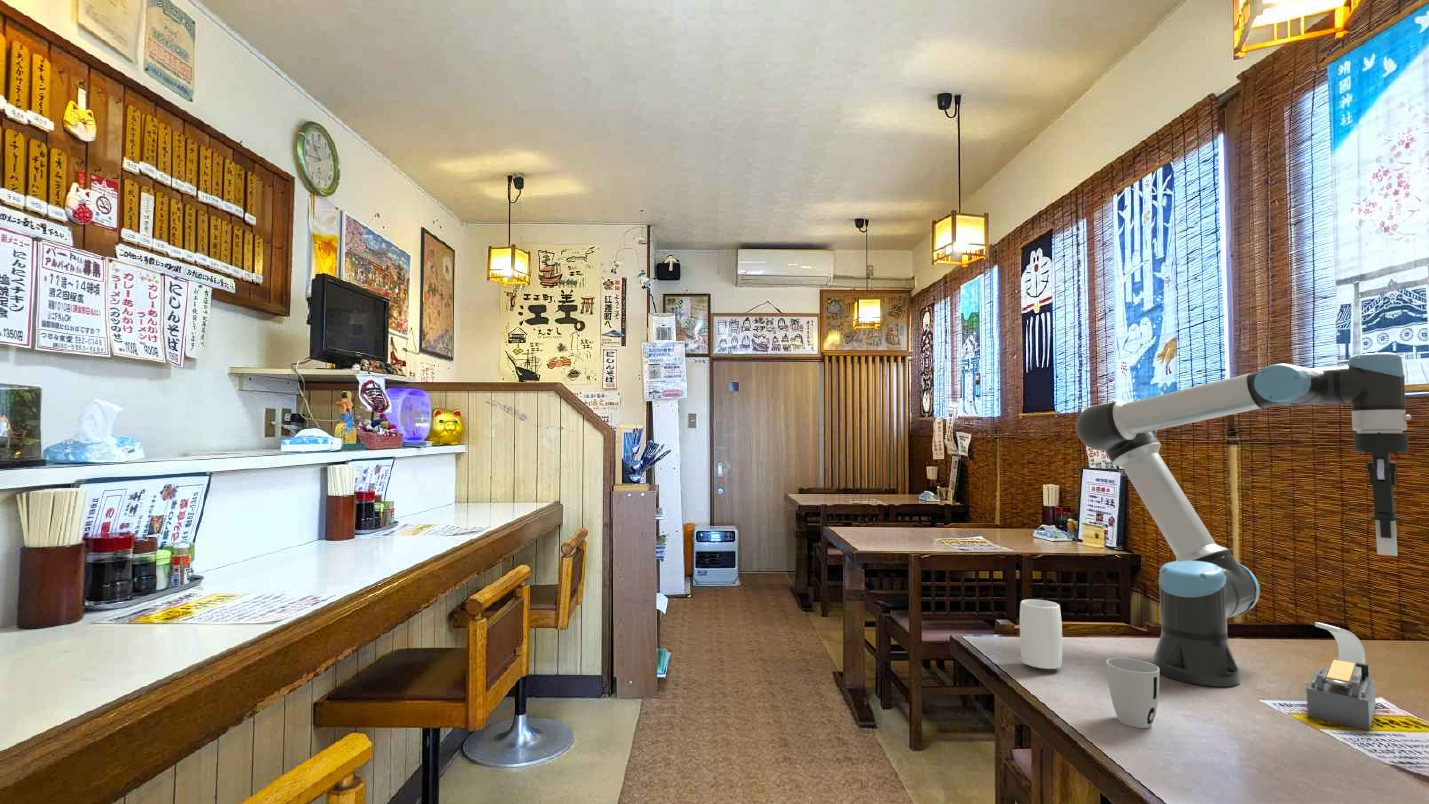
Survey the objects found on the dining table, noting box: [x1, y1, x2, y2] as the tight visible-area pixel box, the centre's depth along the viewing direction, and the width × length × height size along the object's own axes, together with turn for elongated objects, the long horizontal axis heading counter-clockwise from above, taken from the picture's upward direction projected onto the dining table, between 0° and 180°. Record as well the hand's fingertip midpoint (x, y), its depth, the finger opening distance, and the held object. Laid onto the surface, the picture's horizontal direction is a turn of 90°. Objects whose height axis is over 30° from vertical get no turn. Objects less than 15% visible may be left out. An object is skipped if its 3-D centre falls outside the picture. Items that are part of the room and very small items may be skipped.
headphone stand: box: [1314, 622, 1366, 676], centre depth 137 cm, size 5×6×12 cm
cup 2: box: [1105, 657, 1160, 729], centre depth 118 cm, size 8×8×10 cm
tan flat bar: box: [1326, 659, 1355, 683], centre depth 124 cm, size 13×3×1 cm, turn 132°
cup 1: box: [1019, 598, 1063, 670], centre depth 146 cm, size 8×8×14 cm
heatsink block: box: [1306, 662, 1376, 731], centre depth 123 cm, size 16×8×8 cm, turn 132°
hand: (1387, 554), depth 127 cm, fingers closed
